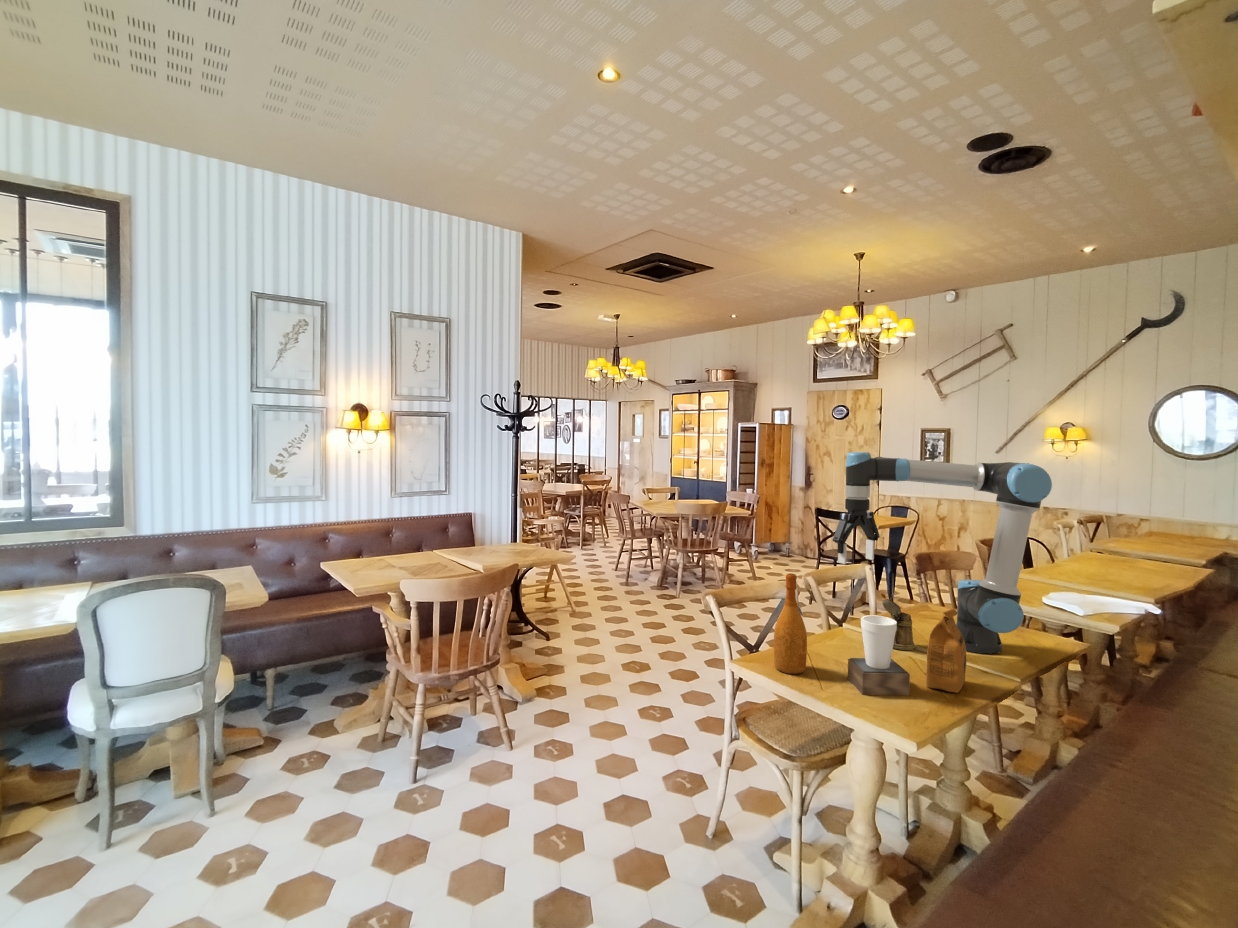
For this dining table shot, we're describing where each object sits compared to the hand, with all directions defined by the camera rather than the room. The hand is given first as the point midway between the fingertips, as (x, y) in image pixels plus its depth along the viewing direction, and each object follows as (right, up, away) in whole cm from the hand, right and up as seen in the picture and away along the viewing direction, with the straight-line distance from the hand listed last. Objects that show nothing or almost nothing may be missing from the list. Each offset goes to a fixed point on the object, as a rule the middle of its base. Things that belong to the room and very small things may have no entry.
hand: (856, 561), depth 193 cm
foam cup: (-5, -26, -27) cm, 37 cm away
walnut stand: (-5, -32, -27) cm, 42 cm away
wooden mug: (+16, -31, +5) cm, 35 cm away
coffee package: (+16, -32, -26) cm, 44 cm away
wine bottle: (-26, -31, -14) cm, 43 cm away
